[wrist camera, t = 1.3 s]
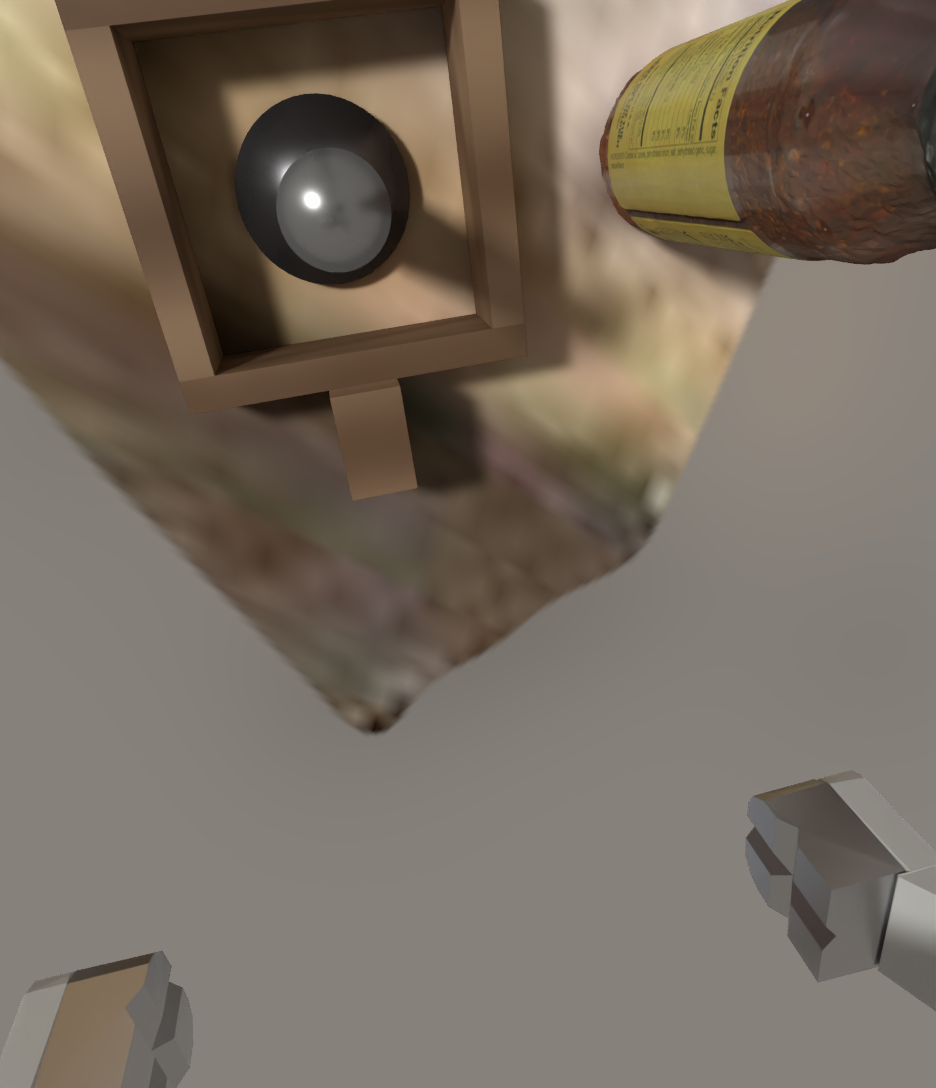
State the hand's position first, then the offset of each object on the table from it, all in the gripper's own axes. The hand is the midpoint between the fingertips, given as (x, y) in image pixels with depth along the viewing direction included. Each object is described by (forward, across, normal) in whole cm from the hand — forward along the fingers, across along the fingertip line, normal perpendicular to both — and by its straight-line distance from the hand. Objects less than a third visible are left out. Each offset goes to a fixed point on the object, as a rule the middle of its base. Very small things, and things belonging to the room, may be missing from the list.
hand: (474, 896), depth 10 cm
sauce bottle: (+22, -13, -9) cm, 28 cm away
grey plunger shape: (+22, 0, -9) cm, 24 cm away
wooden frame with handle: (+22, 0, -7) cm, 23 cm away
